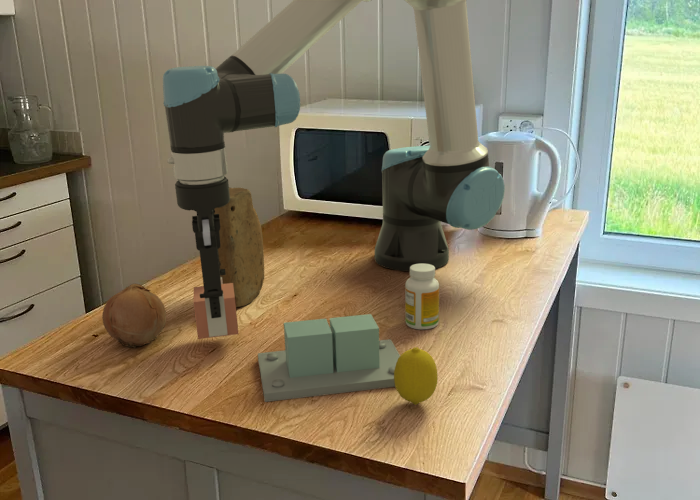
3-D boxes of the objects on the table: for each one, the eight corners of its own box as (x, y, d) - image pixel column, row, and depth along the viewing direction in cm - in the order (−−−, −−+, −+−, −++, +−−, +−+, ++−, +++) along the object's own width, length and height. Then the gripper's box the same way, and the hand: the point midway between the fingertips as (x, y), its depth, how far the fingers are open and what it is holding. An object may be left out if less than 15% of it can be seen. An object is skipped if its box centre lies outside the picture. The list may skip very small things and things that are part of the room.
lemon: (391, 394, 94) (391, 339, 92) (432, 392, 94) (433, 337, 92) (397, 416, 89) (397, 359, 86) (441, 414, 89) (442, 356, 87)
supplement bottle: (441, 318, 117) (442, 263, 114) (434, 332, 112) (435, 274, 109) (409, 315, 119) (410, 260, 116) (401, 328, 114) (401, 271, 111)
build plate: (390, 346, 108) (390, 302, 105) (412, 384, 96) (412, 336, 94) (258, 360, 104) (255, 315, 102) (264, 401, 93) (261, 352, 91)
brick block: (236, 317, 112) (233, 282, 110) (238, 334, 107) (234, 297, 105) (198, 322, 111) (193, 287, 109) (198, 339, 106) (193, 302, 104)
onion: (139, 349, 116) (139, 287, 117) (179, 346, 110) (178, 282, 112) (89, 350, 108) (89, 284, 109) (129, 347, 103) (129, 278, 104)
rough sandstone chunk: (233, 313, 121) (224, 199, 115) (200, 305, 125) (189, 194, 118) (272, 292, 130) (265, 185, 123) (240, 286, 133) (232, 181, 127)
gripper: (176, 166, 110) (193, 304, 117) (171, 196, 92) (192, 356, 100) (225, 162, 111) (239, 299, 118) (230, 191, 93) (246, 350, 101)
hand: (217, 325), depth 109 cm, fingers closed on brick block, 6 cm apart
